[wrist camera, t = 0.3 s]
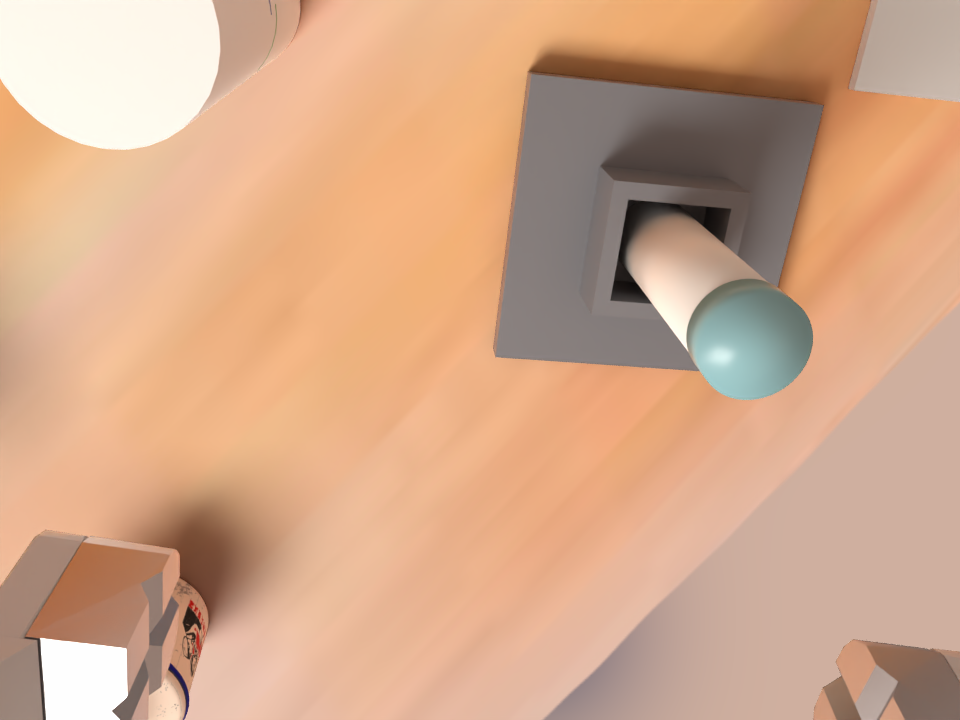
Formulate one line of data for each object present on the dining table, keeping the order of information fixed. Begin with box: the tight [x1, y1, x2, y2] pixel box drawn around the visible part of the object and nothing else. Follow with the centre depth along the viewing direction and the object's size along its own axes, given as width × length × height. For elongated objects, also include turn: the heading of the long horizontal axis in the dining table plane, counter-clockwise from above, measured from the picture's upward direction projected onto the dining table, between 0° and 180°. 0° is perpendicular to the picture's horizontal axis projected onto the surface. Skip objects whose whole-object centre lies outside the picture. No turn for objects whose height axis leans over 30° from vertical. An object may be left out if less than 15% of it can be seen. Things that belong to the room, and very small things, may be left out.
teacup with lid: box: [148, 578, 209, 720], centre depth 61 cm, size 12×9×12 cm
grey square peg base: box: [493, 71, 824, 371], centre depth 55 cm, size 18×18×6 cm
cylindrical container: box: [0, 0, 301, 150], centre depth 39 cm, size 7×7×25 cm
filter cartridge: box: [618, 201, 813, 400], centre depth 48 cm, size 5×5×18 cm
